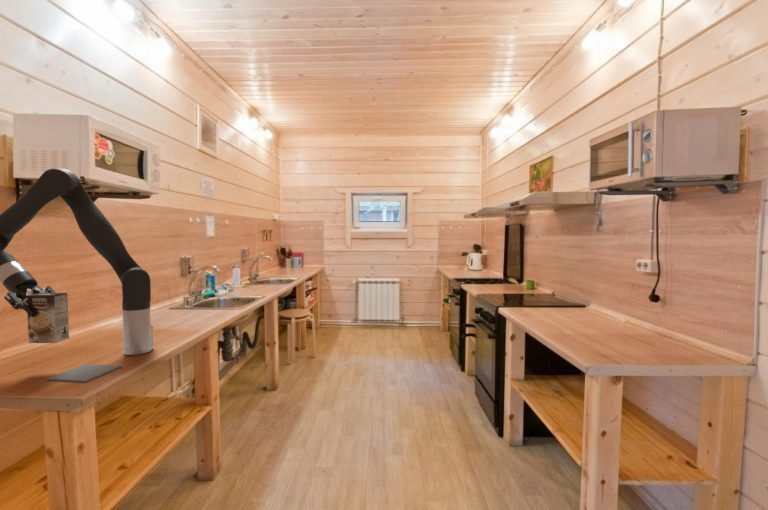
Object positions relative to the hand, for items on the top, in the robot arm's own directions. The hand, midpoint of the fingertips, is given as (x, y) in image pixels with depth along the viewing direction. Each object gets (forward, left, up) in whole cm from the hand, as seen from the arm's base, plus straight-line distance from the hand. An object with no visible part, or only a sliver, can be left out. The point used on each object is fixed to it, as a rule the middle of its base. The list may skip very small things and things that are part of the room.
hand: (47, 313), depth 131 cm
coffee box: (0, 0, -10) cm, 10 cm away
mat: (0, +14, -20) cm, 24 cm away
